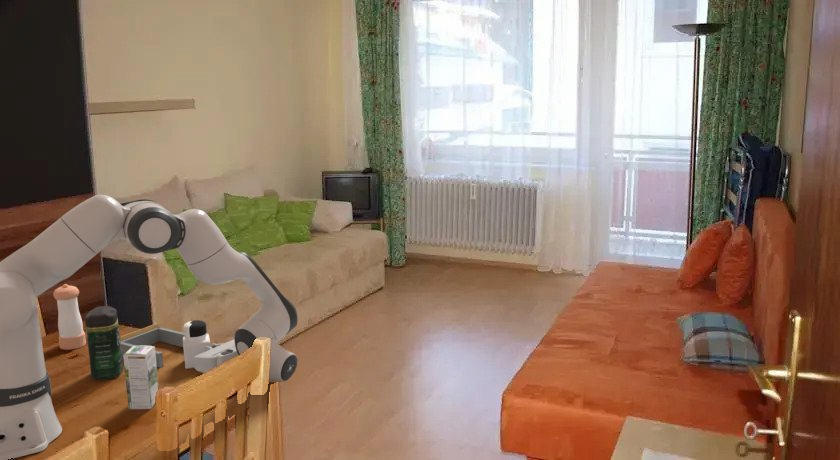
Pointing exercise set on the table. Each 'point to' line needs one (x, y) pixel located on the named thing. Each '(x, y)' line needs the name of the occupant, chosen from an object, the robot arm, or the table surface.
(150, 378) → the syrup box
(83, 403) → the table surface
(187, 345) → the medicine bottle
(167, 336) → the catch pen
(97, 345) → the coffee jar
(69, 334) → the salt shaker
